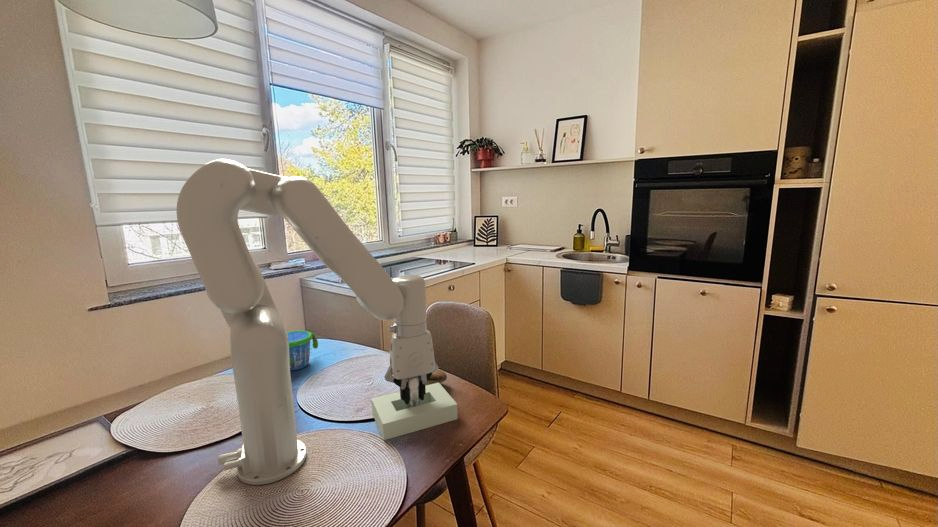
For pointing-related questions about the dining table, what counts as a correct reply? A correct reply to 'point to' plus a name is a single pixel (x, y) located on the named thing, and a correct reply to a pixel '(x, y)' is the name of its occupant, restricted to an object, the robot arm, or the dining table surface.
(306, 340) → the snack cup
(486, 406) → the dining table surface
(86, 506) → the dining table surface
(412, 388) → the pin
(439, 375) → the mushroom
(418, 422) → the slot block
